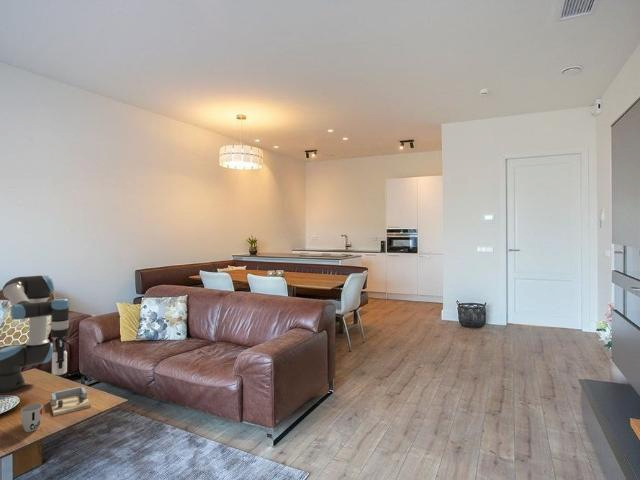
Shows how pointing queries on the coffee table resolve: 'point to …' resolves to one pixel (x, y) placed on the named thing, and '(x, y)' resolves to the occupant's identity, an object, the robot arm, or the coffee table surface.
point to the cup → (31, 416)
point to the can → (54, 364)
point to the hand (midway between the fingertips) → (59, 372)
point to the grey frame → (68, 393)
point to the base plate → (69, 404)
